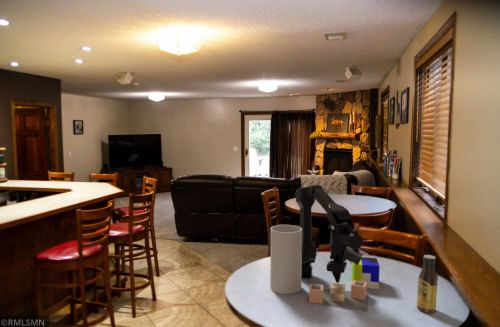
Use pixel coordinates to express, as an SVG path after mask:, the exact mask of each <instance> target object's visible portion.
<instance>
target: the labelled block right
mask: <svg viewBox="0 0 500 327" xmlns="http://www.w3.org/2000/svg"><path fill="white" fill-rule="evenodd" d="M350 291H351V297H352V298H357V299H362V300H365V298H366V296H367V294H368V288H367V282H361V281H356V280H354V281H353V282H352V283H351V285H350Z"/></svg>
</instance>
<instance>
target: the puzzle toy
mask: <svg viewBox="0 0 500 327" xmlns="http://www.w3.org/2000/svg"><path fill="white" fill-rule="evenodd" d="M380 268H381V267H380V264H379V261H378V258H376V257H367V256H366V257H365V256H362V258H361V260H360V262H359V265H356V264H355V263H353V262H351V280H352V281H351V282H352V283H353V281H354V280H356V281H361V282H367V289H372V290H374V289H375V290H379V289H380Z"/></svg>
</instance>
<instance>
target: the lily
mask: <svg viewBox="0 0 500 327" xmlns="http://www.w3.org/2000/svg"><path fill="white" fill-rule="evenodd" d="M348 248H349V247H348ZM349 249H351V248H349ZM359 251H360V253H361V254H362V257H365V256H369V253H368V252H366V251H363V250H360V249H359ZM349 264H350V265H352V262H350V263H349Z"/></svg>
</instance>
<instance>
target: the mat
mask: <svg viewBox="0 0 500 327" xmlns="http://www.w3.org/2000/svg"><path fill="white" fill-rule="evenodd" d="M369 296H370V295H369V293H367V296H366V298H365V300H362V299H357V298H352V297H351V290H345V299H344V302H338V301H331V300H330V288H329V287H323V303H309V294H308V295H307V297H306V300H305V301H304V303H305V304H312V305H318V306H325V307H331V308H337V309H342V310H343V309H344V310H351V311H356V312H363V313H364V312H365V313H368V303H369Z"/></svg>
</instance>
